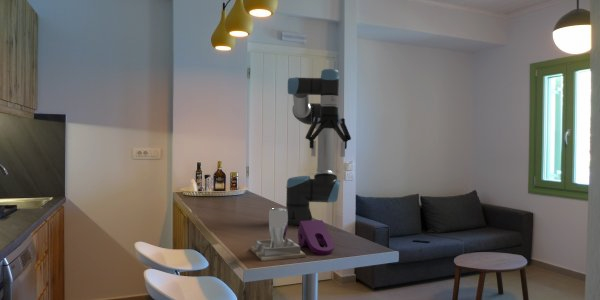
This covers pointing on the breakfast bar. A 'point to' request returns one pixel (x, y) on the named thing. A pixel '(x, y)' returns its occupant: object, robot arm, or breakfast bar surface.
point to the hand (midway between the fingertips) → (328, 156)
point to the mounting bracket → (315, 237)
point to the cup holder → (277, 250)
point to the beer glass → (278, 226)
